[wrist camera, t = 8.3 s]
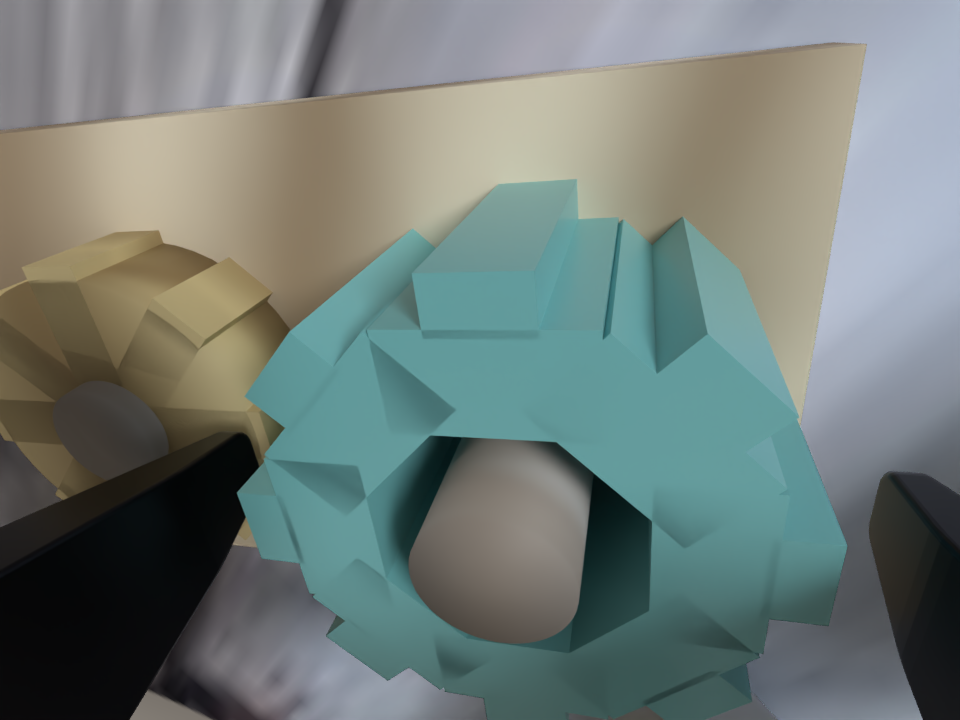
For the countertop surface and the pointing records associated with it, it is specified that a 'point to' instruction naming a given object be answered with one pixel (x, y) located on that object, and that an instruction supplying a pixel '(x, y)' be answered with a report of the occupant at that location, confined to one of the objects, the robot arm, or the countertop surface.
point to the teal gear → (572, 424)
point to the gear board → (368, 234)
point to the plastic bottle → (750, 716)
